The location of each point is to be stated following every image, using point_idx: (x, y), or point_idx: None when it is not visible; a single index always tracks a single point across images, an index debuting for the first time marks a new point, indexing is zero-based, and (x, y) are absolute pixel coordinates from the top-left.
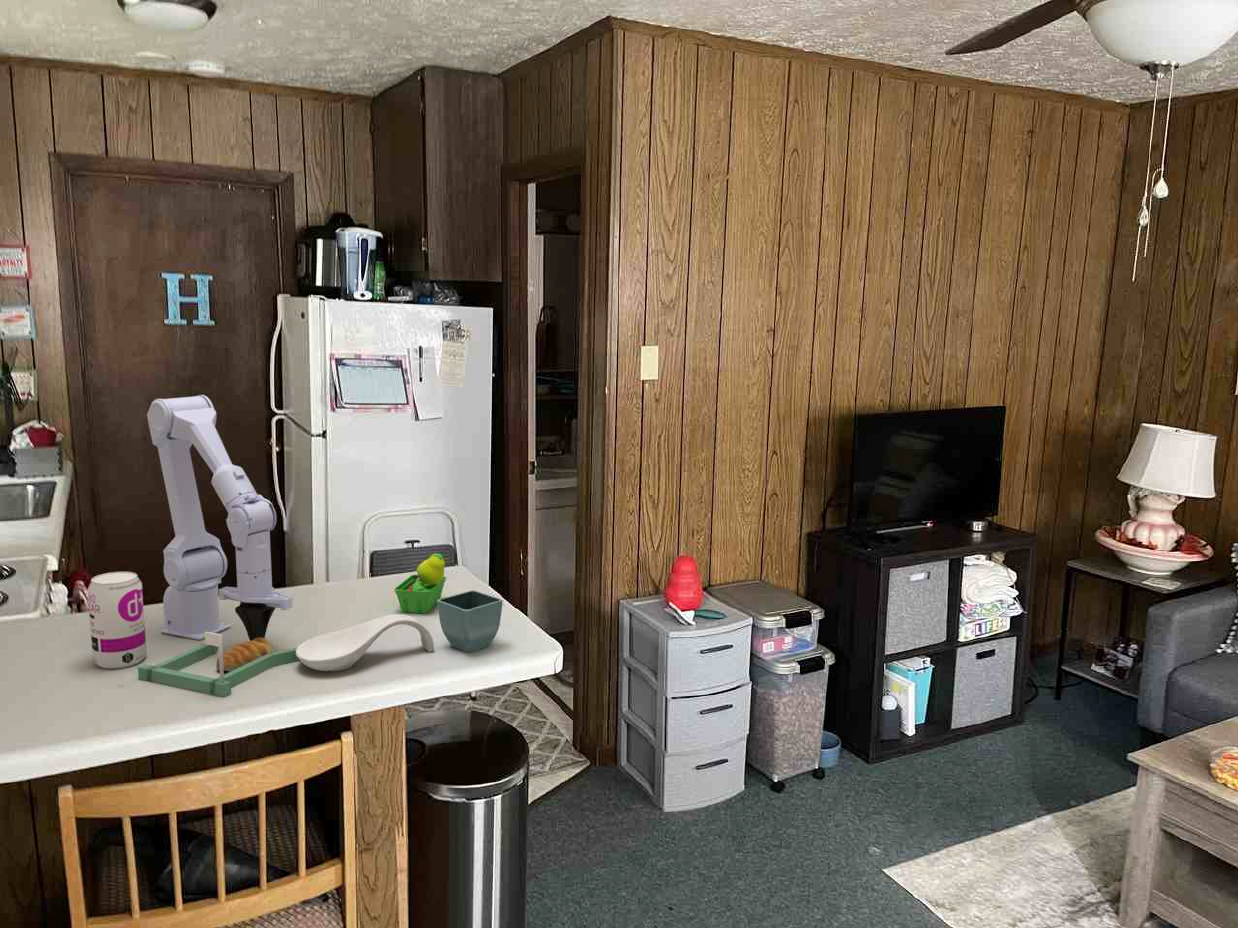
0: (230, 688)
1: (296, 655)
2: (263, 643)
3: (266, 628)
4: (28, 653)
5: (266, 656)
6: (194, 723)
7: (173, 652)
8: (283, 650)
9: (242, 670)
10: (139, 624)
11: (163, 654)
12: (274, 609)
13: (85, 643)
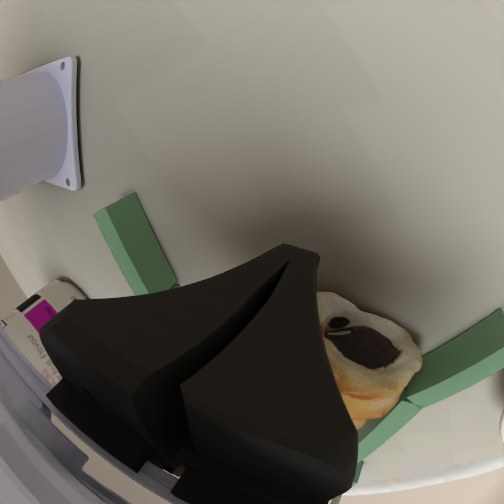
0: (360, 471)
1: (499, 431)
2: (370, 399)
3: (316, 297)
4: (19, 279)
5: (403, 415)
6: (346, 493)
7: (100, 273)
8: (456, 375)
9: (361, 459)
10: (52, 379)
11: (97, 285)
12: (348, 417)
13: (16, 241)
